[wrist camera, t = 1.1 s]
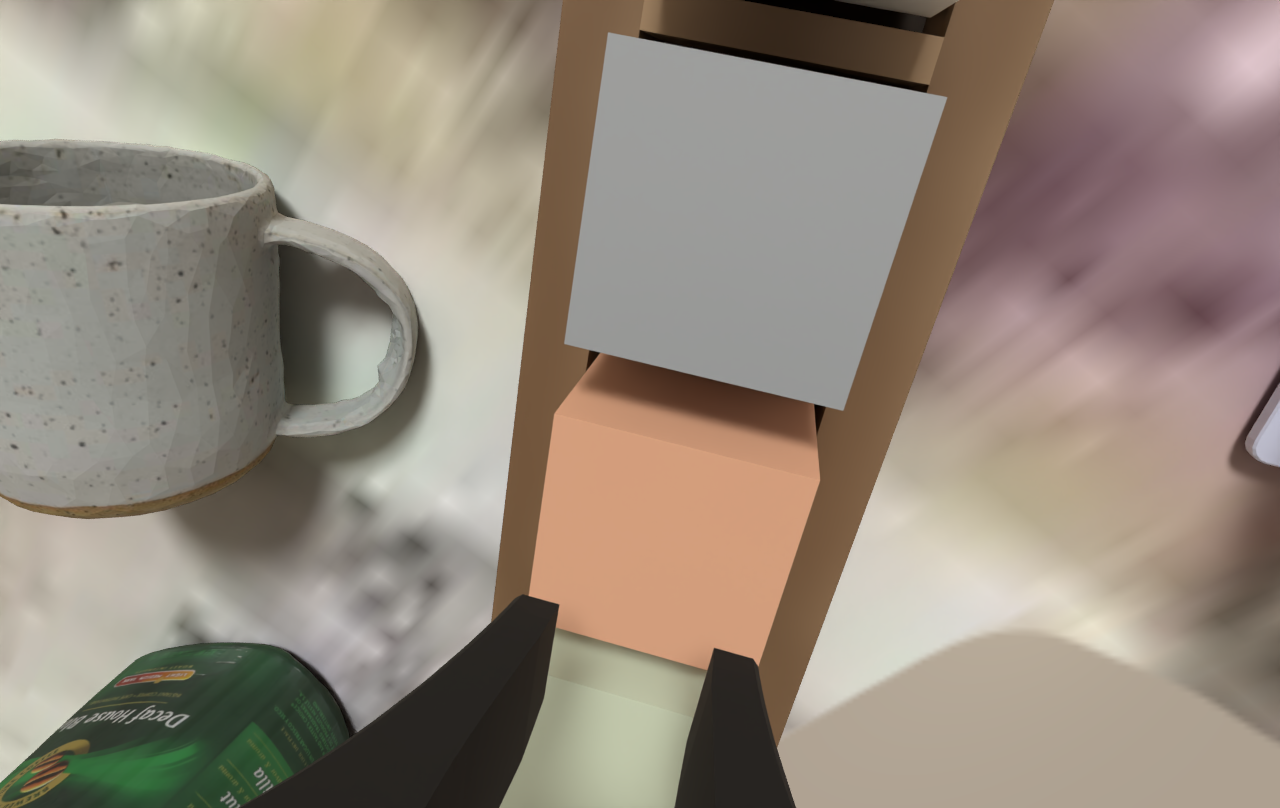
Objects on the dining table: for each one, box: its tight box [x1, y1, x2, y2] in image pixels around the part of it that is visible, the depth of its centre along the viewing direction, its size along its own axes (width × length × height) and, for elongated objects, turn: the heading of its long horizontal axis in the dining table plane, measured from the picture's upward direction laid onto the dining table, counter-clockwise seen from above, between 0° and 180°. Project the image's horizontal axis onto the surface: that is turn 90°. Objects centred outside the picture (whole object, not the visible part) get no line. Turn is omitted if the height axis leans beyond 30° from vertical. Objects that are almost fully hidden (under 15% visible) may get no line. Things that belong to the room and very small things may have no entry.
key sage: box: [499, 628, 707, 808], centre depth 18 cm, size 5×5×4 cm
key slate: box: [564, 32, 947, 411], centre depth 13 cm, size 5×5×4 cm
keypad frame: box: [491, 0, 1054, 747], centre depth 17 cm, size 9×27×3 cm, turn 170°
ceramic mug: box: [0, 139, 418, 519], centre depth 18 cm, size 11×8×8 cm
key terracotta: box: [529, 353, 820, 670], centre depth 16 cm, size 5×5×4 cm
